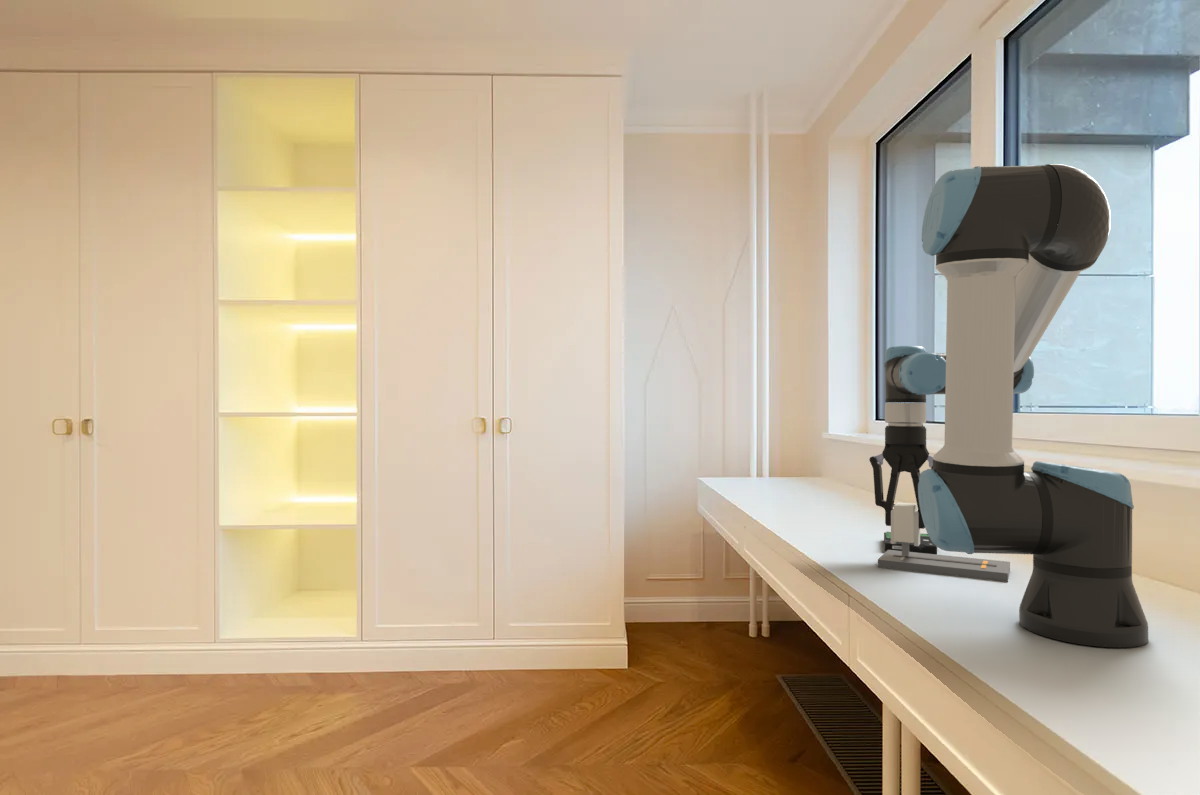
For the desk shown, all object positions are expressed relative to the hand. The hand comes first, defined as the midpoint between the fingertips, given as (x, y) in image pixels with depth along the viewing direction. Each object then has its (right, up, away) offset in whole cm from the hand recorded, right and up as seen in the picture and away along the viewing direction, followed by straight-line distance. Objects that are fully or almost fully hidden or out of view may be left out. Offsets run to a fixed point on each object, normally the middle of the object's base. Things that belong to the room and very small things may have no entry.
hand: (905, 543), depth 145 cm
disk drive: (+8, -5, +16) cm, 19 cm away
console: (+6, -4, -3) cm, 8 cm away
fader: (0, -2, 0) cm, 2 cm away
